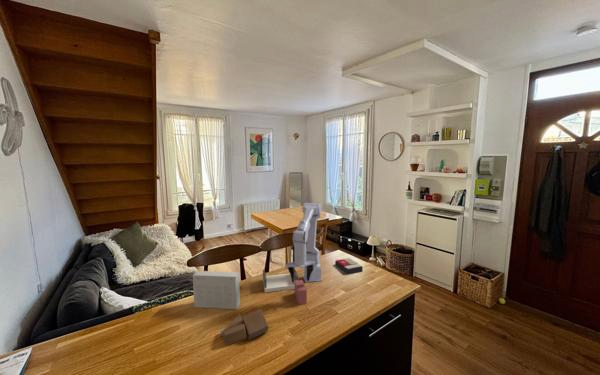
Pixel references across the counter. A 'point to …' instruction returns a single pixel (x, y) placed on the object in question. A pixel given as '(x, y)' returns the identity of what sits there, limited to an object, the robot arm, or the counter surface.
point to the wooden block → (245, 327)
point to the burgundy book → (300, 292)
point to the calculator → (349, 266)
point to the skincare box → (216, 289)
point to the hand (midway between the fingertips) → (300, 280)
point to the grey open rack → (279, 282)
